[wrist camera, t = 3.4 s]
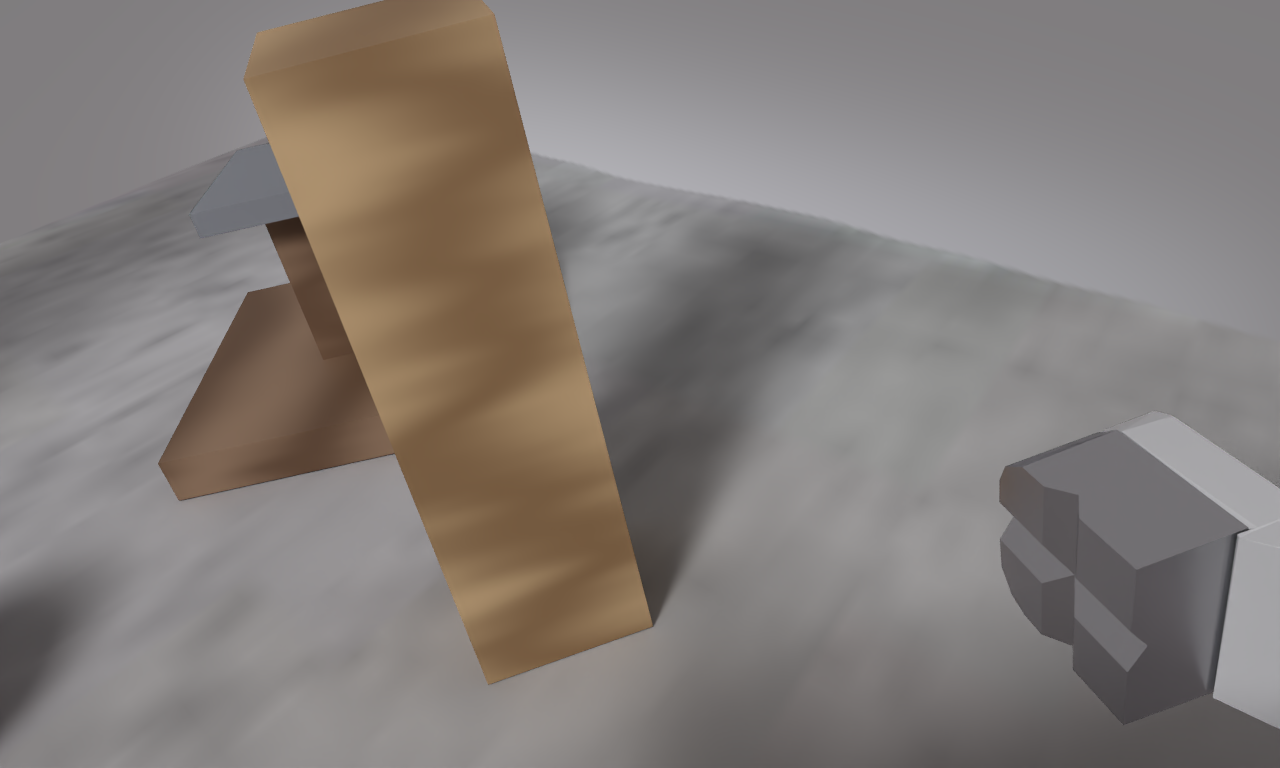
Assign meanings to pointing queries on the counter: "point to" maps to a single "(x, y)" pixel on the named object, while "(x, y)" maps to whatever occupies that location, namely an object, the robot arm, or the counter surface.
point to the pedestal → (272, 359)
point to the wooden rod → (456, 313)
